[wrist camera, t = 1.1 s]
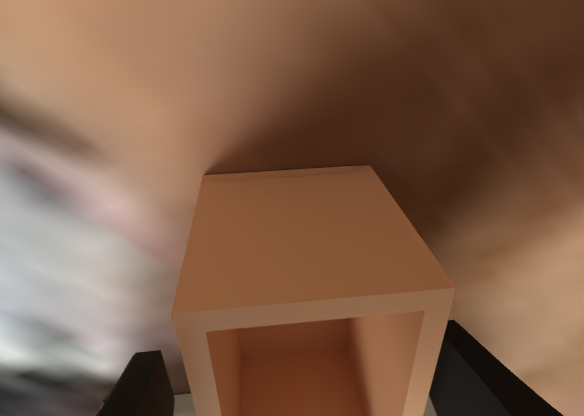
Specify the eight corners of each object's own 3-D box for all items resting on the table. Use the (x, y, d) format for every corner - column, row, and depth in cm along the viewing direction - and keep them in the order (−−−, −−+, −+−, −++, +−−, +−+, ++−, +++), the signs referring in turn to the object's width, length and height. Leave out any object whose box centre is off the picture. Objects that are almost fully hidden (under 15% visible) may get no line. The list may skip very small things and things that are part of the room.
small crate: (369, 164, 12) (456, 287, 7) (353, 344, 16) (400, 500, 11) (202, 175, 11) (171, 313, 6) (230, 356, 15) (223, 524, 10)
